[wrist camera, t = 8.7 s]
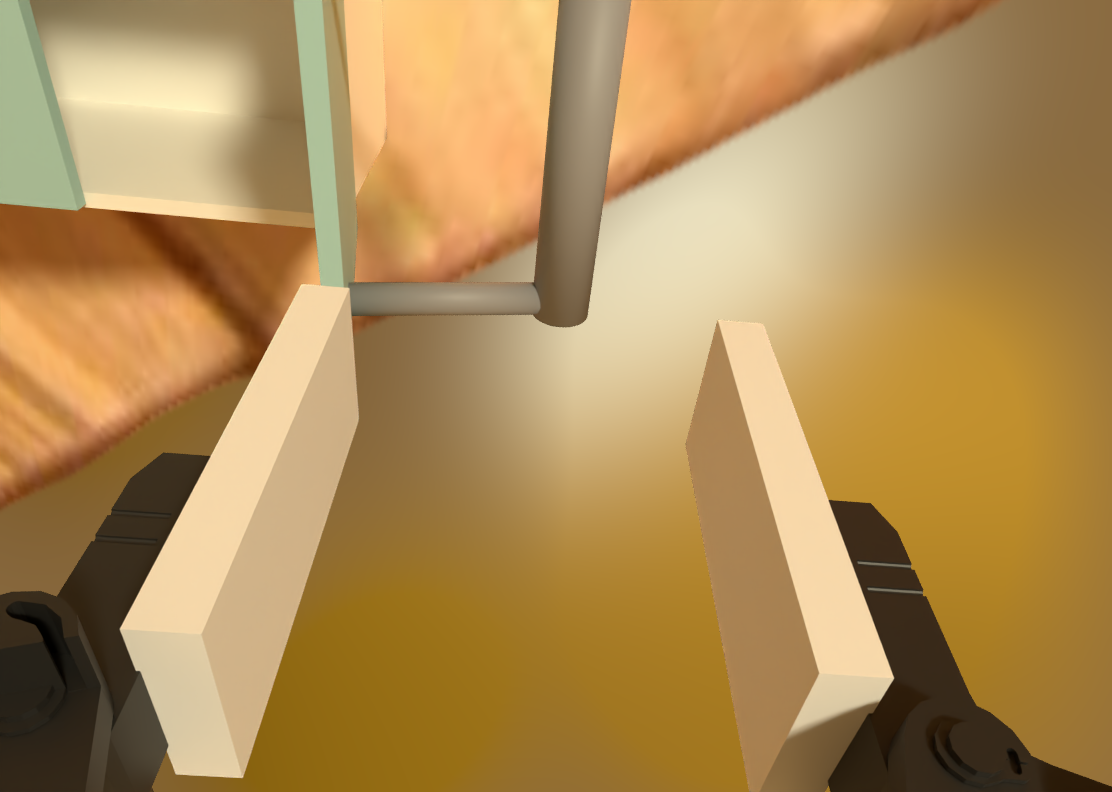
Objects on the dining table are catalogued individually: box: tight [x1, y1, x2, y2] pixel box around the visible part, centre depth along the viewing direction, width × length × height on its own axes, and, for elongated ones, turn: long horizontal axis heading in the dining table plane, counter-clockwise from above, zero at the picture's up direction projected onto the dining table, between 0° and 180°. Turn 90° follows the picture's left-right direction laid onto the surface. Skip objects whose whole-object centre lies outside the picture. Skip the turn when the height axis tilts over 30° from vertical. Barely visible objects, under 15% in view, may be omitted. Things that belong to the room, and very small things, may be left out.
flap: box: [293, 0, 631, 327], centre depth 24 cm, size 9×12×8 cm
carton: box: [29, 0, 387, 228], centre depth 30 cm, size 18×12×10 cm, turn 85°
